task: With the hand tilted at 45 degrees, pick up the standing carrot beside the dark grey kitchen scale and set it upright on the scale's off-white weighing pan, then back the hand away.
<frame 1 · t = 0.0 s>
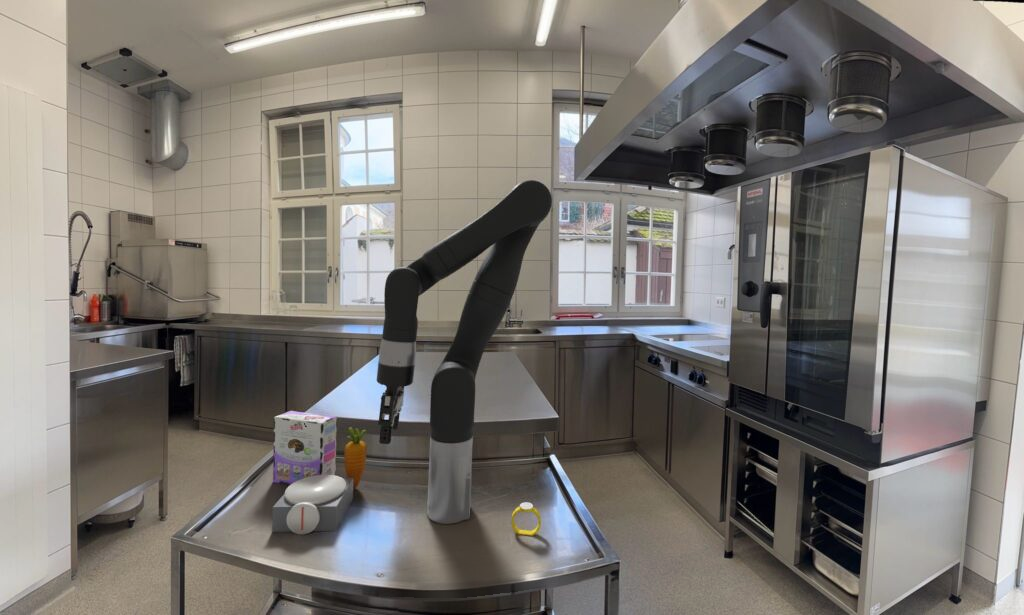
hand: (389, 435, 87), 17 cm above the table, tool pointing down, fingers open, 8 cm apart
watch: (525, 534, 83), on the table
candy box: (304, 482, 100), on the table
scale pan: (316, 489, 86), point 5 cm above the table, slide at 0.5 cm
scale base: (315, 514, 86), on the table
carrot: (354, 489, 97), on the table
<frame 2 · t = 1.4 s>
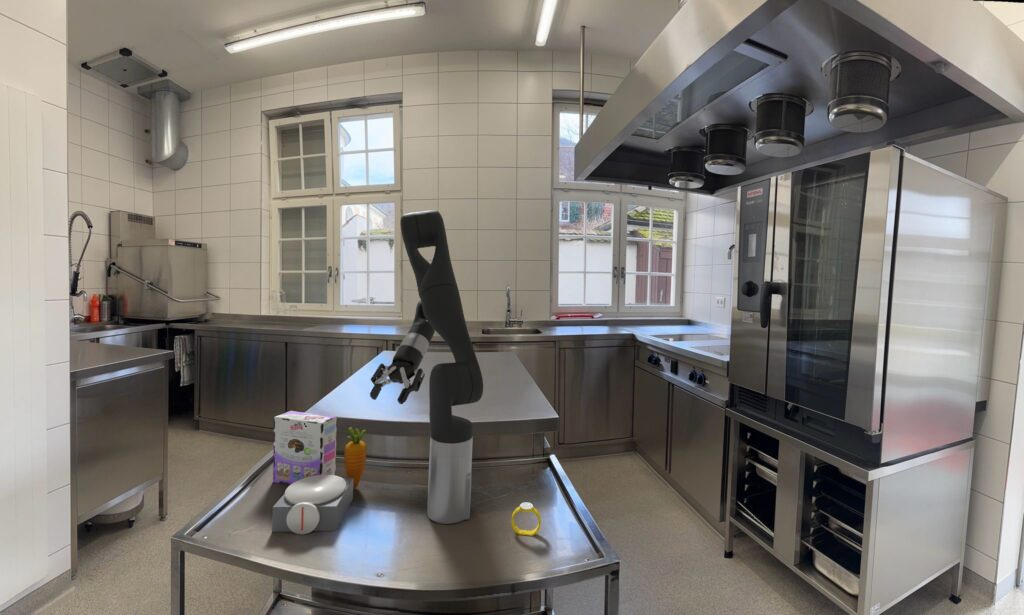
hand: (386, 400, 107), 19 cm above the table, tool tilted 45°, fingers open, 8 cm apart
nothing on the table moved.
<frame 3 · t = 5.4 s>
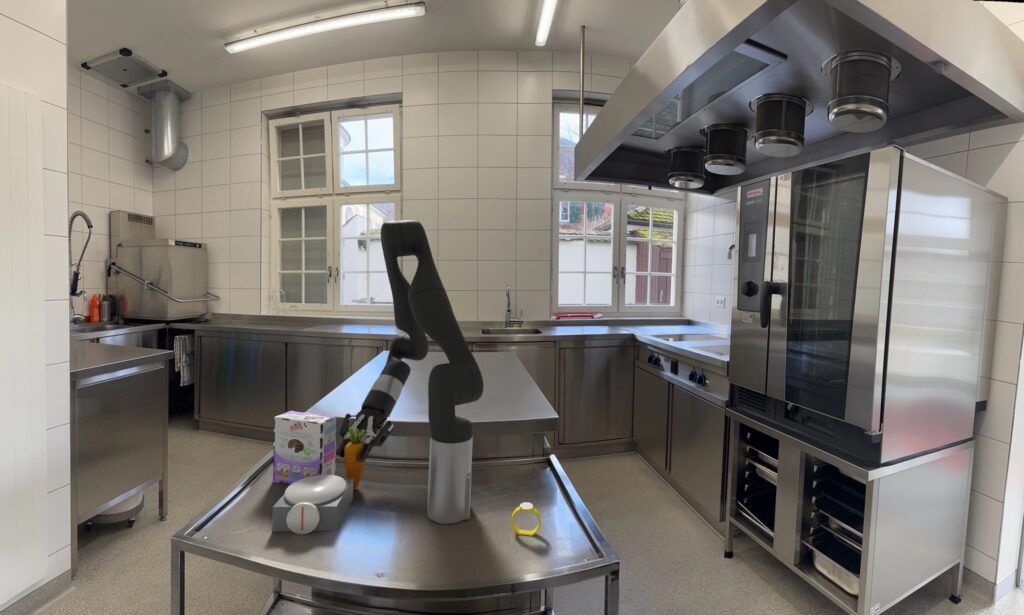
hand: (350, 458, 95), 8 cm above the table, tool tilted 45°, fingers closed on carrot, 5 cm apart
carrot: (354, 489, 97), on the table, touching gripper
everything else where it was.
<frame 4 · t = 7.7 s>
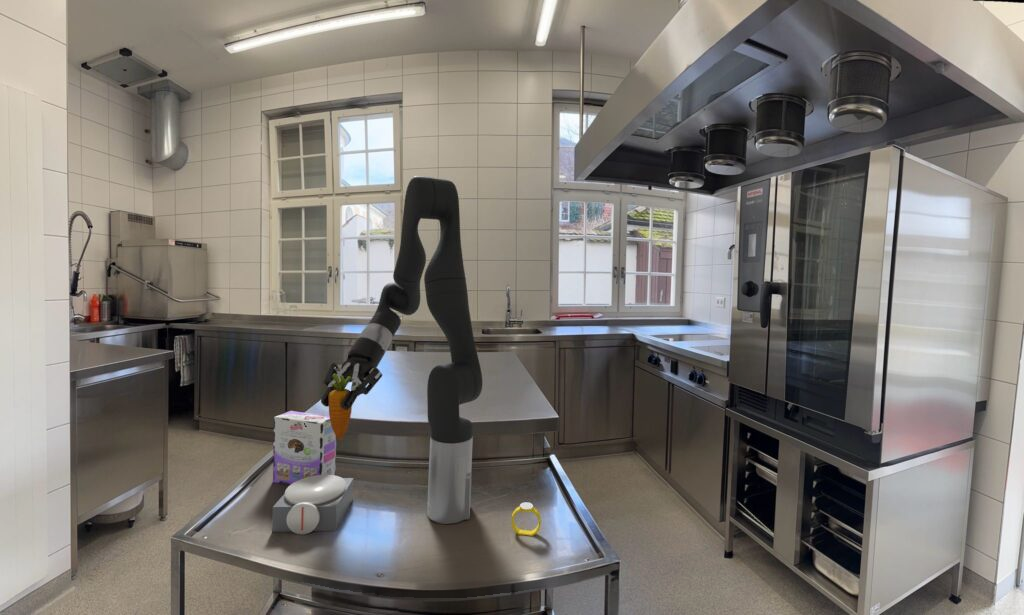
hand: (334, 406, 89), 22 cm above the table, tool tilted 45°, fingers closed on carrot, 5 cm apart
carrot: (339, 440, 91), point 14 cm above the table, touching gripper
everything else where it was.
when the fingers open (16 cm above the table, at t = 10.2 s): carrot drops 2 cm, resting on scale pan.
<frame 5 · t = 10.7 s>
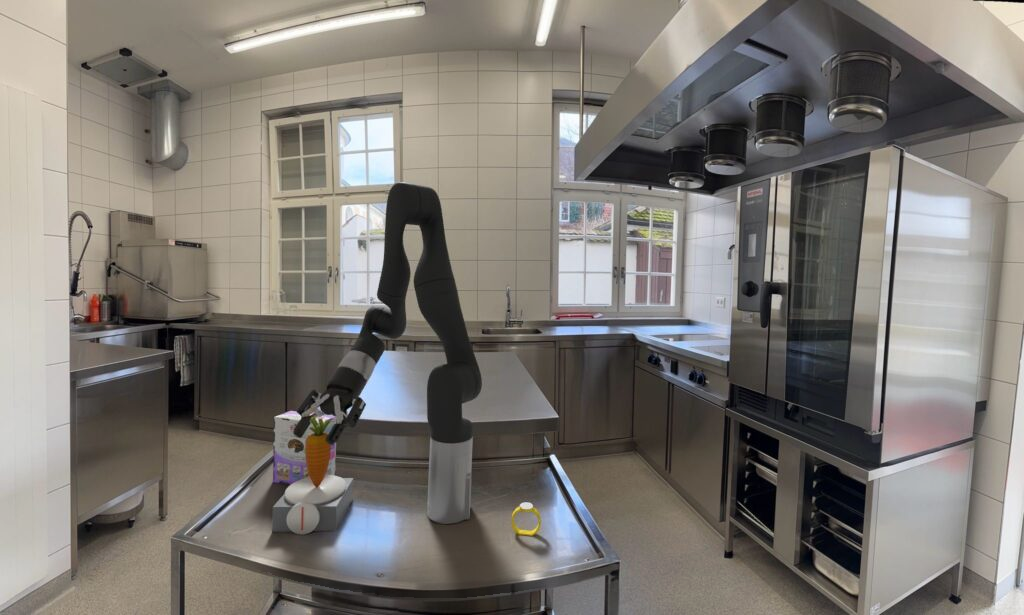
hand: (312, 439, 84), 17 cm above the table, tool tilted 45°, fingers open, 8 cm apart
scale pan: (316, 489, 86), point 5 cm above the table, slide at 0.6 cm, touching carrot
carrot: (317, 488, 86), point 6 cm above the table, touching scale pan
everything else where it was.
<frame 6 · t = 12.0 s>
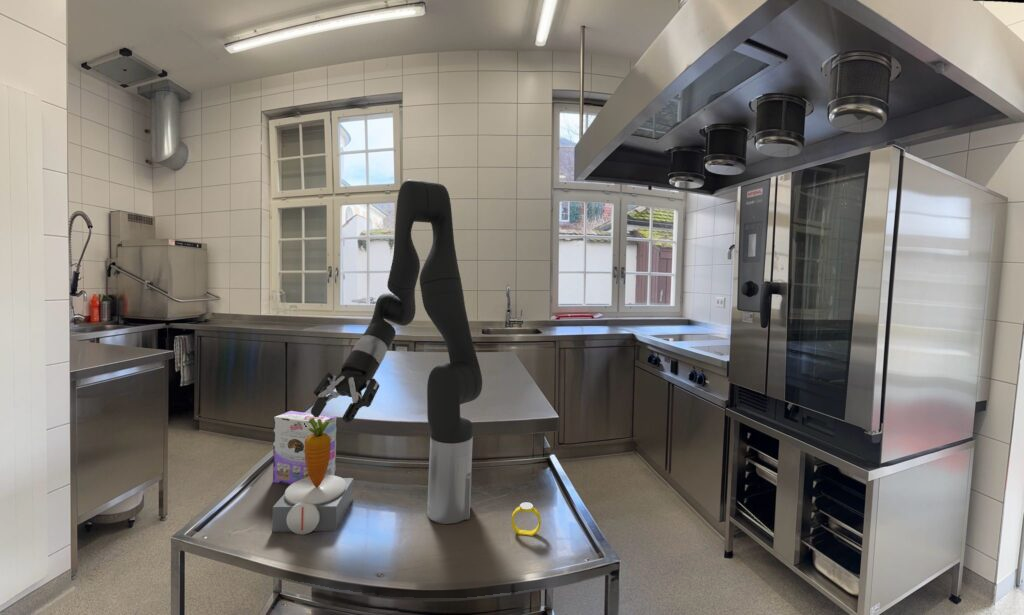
hand: (329, 418, 88), 20 cm above the table, tool tilted 45°, fingers open, 8 cm apart
nothing on the table moved.
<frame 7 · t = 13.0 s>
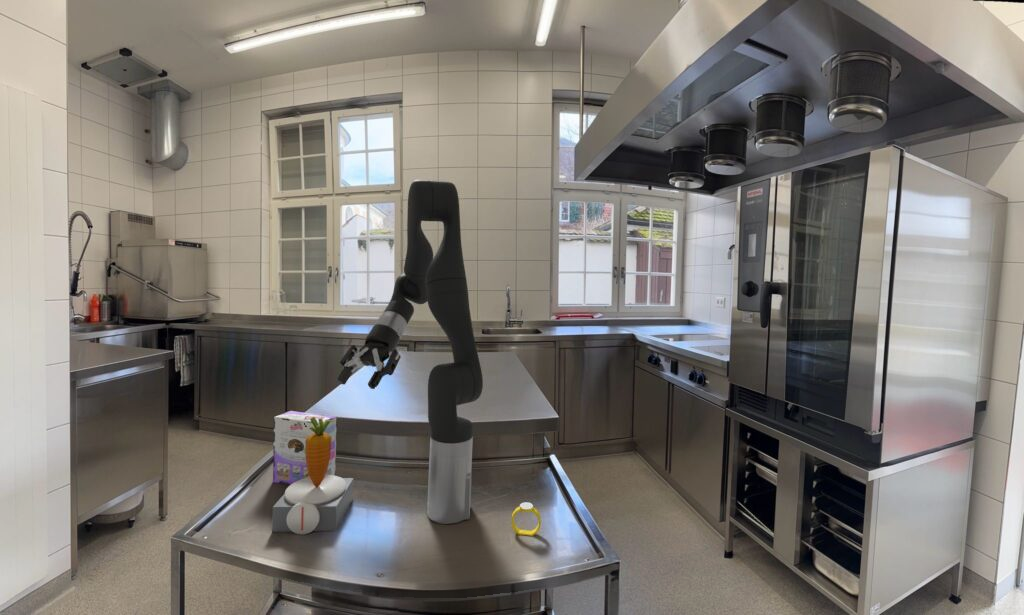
hand: (355, 384, 95), 25 cm above the table, tool tilted 45°, fingers open, 8 cm apart
nothing on the table moved.
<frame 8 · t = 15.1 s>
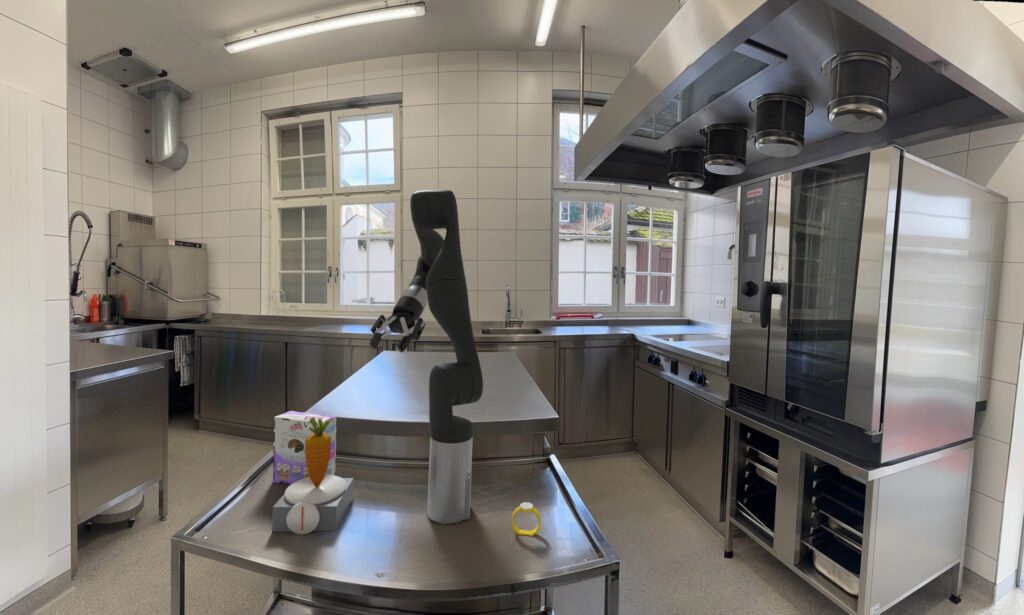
hand: (386, 348, 106), 33 cm above the table, tool tilted 45°, fingers open, 8 cm apart
nothing on the table moved.
at the end: carrot inside the target area on the scale base (0.2 cm from its centre), point 5.7 cm above the scale base's base; carrot tilted 0°; the gripper is holding nothing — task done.
